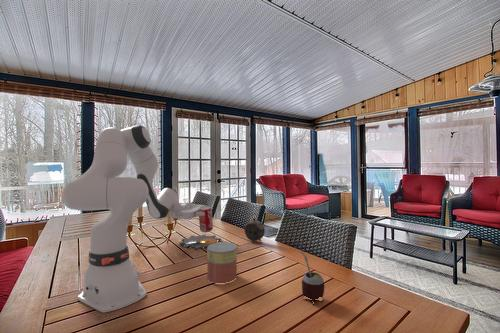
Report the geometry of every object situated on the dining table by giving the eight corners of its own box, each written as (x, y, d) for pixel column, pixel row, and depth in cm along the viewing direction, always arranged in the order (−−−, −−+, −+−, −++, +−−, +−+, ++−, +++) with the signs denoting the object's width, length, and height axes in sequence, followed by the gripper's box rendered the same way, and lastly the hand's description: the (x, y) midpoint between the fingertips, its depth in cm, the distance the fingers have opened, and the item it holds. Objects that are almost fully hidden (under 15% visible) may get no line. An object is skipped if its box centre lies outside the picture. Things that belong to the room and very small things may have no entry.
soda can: (211, 233, 136) (210, 209, 133) (198, 232, 136) (196, 209, 134) (214, 227, 143) (213, 205, 140) (201, 227, 143) (200, 205, 141)
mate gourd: (325, 307, 78) (325, 258, 78) (299, 304, 79) (299, 257, 79) (322, 294, 85) (323, 250, 85) (298, 292, 87) (299, 248, 86)
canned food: (235, 270, 104) (235, 241, 104) (238, 283, 93) (238, 251, 92) (207, 272, 102) (207, 242, 102) (207, 286, 91) (207, 252, 91)
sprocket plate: (230, 242, 139) (230, 239, 139) (196, 253, 122) (196, 250, 122) (204, 234, 154) (204, 231, 154) (171, 243, 137) (171, 240, 137)
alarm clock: (265, 242, 139) (265, 213, 138) (260, 245, 134) (260, 215, 134) (248, 239, 144) (248, 211, 144) (242, 241, 140) (242, 212, 140)
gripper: (174, 208, 130) (198, 210, 126) (193, 202, 150) (215, 203, 146) (174, 221, 130) (198, 223, 127) (193, 213, 150) (215, 214, 146)
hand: (207, 212), depth 137 cm, fingers closed on soda can, 5 cm apart
